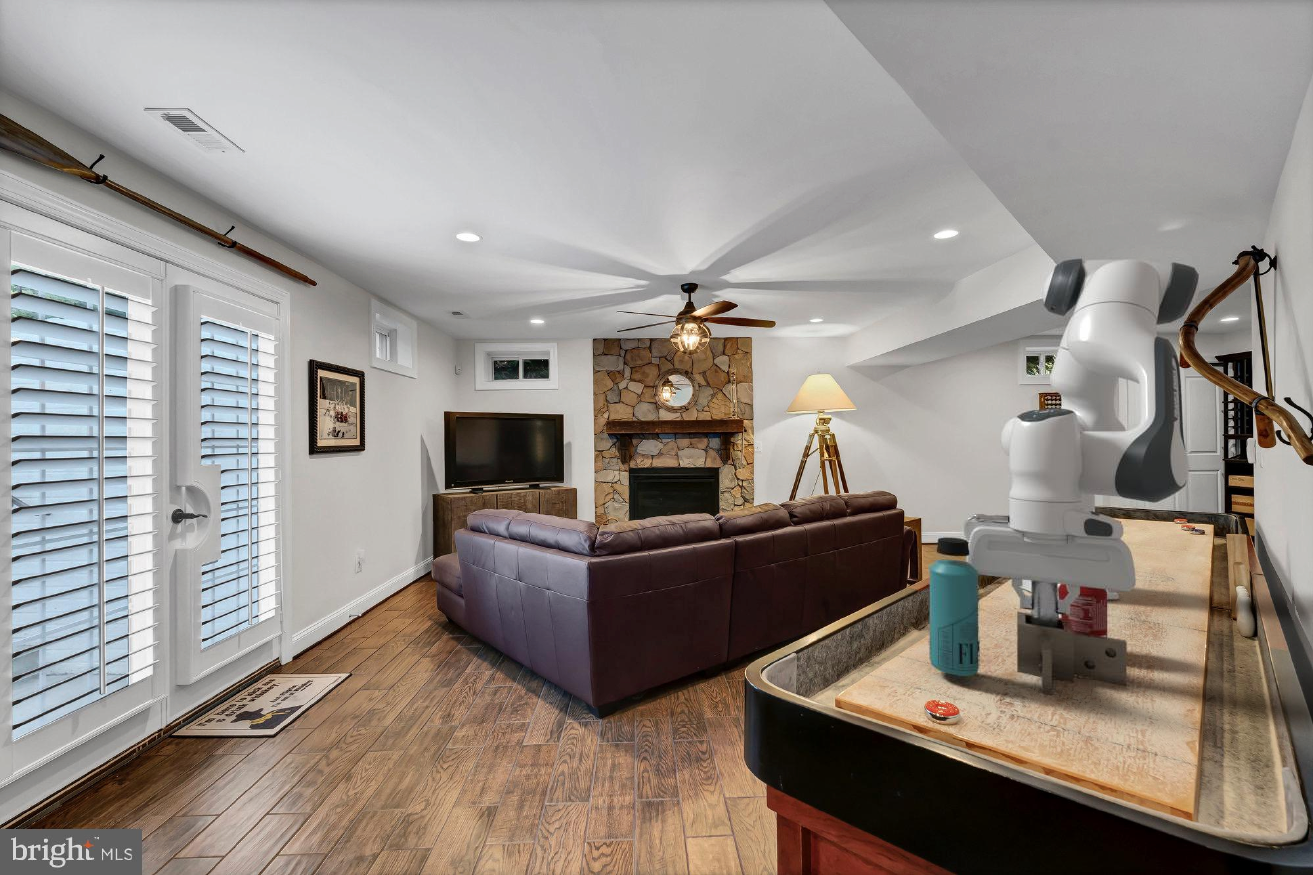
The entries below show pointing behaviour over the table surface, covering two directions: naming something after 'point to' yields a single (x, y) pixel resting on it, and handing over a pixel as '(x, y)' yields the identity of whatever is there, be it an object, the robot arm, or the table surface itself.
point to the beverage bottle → (954, 611)
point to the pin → (1044, 604)
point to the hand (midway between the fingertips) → (1044, 611)
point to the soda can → (1087, 610)
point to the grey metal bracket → (1068, 654)
